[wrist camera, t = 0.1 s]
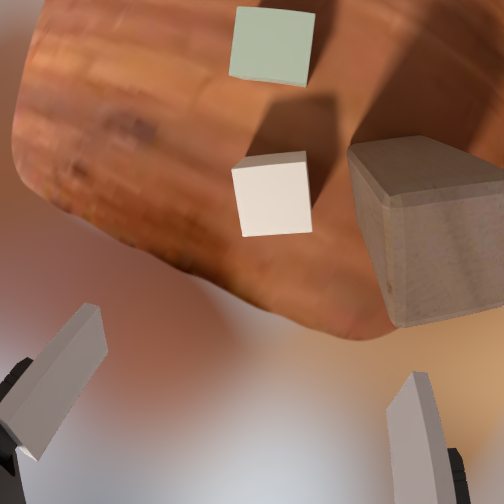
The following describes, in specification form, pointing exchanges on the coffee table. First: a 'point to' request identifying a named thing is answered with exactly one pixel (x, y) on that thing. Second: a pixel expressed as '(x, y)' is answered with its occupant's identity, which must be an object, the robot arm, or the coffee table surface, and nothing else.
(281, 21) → the sage cube
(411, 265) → the wooden block
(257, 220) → the cream cube
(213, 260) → the coffee table surface
